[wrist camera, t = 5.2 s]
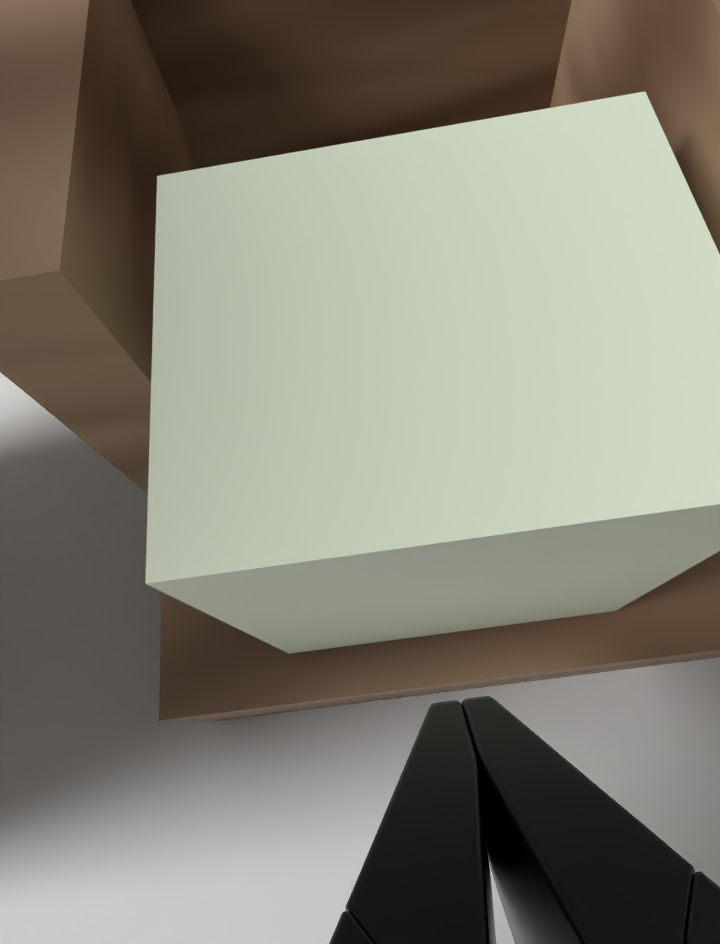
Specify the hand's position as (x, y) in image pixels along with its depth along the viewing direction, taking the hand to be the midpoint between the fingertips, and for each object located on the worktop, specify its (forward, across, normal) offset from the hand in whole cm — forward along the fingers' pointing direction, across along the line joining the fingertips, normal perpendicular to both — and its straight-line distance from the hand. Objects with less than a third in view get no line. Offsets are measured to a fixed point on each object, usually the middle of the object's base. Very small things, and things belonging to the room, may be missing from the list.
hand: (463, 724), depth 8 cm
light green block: (+6, 0, 0) cm, 6 cm away
